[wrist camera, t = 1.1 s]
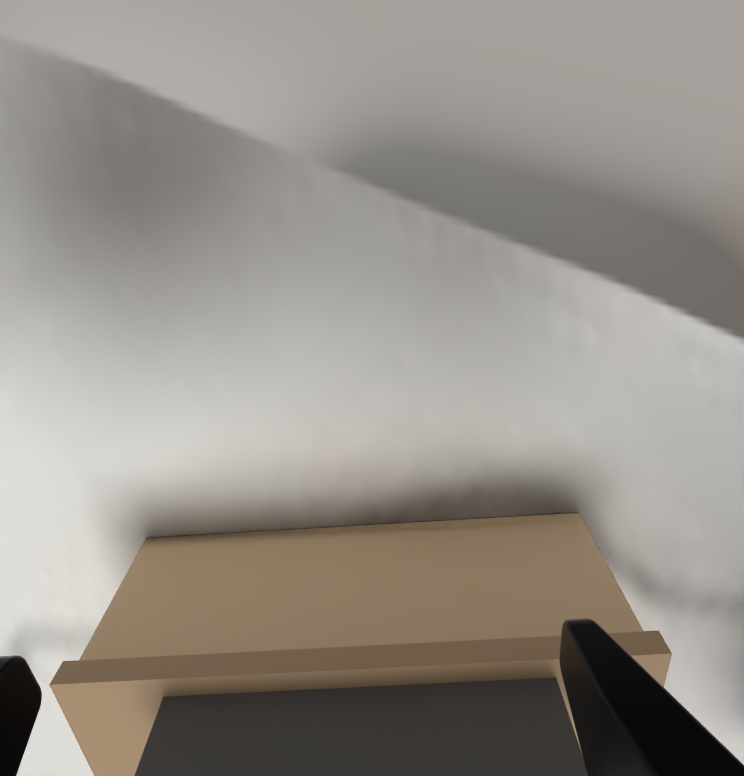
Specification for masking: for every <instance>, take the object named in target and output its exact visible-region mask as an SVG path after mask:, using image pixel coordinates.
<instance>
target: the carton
mask: <svg viewBox="0 0 744 776" xmlns="http://www.w3.org/2000/svg"><path fill="white" fill-rule="evenodd" d="M583 618H588V619H592V620H594V621H595V622H596V623H598V624H599V625H600V626H601V627H602V628H603V629H604V630H605V631H606V632H607V633H625V632H644V631H643V629H642V627H641V626H640V624H639V622H638V620H637V618H636V616H635V615H634V613H633V611H632V609H631V607H630V605H629V603H628V602H627V600H626V598H625V596H624V594H623V592H622V591H621V589H620V587H619V585H618V583H617V581H616V580H615V578H614V576H613V574H612V572H611V570H610V568H609V567H608V565H607V563H606V561H605V559H604V557H603V556H602V554H601V552H600V550H599V548H598V546H597V544H596V543H595V541H594V539H593V537H592V535H591V533H590V532H589V530H588V528H587V526H586V524H585V522H584V521H583V519H582V517H581V515H580V513H568V514H551V515H534V516H516V517H499V518H482V519H465V520H447V521H430V522H413V523H395V524H378V525H361V526H344V527H326V528H309V529H292V530H274V531H257V532H240V533H223V534H205V535H188V536H171V537H153V538H146V539H145V541H144V543H143V545H142V547H141V548H140V550H139V552H138V554H137V556H136V558H135V559H134V561H133V563H132V565H131V567H130V568H129V570H128V572H127V574H126V576H125V578H124V579H123V581H122V583H121V585H120V587H119V589H118V590H117V592H116V594H115V596H114V598H113V599H112V601H111V603H110V605H109V607H108V609H107V610H106V612H105V614H104V616H103V618H102V620H101V621H100V623H99V625H98V627H97V629H96V630H95V632H94V634H93V636H92V638H91V640H90V641H89V643H88V645H87V647H86V649H85V651H84V652H83V654H82V656H81V658H80V660H99V659H119V658H138V657H157V656H177V655H196V654H216V653H235V652H255V651H274V650H294V649H313V648H333V647H352V646H372V645H391V644H410V643H430V642H449V641H469V640H488V639H508V638H527V637H547V636H561V634H562V625H563V623H564V621H565V620H568V619H583ZM80 660H79V661H80Z"/></svg>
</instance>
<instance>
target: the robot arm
mask: <svg viewBox="0 0 744 776" xmlns="http://www.w3.org/2000/svg"><path fill="white" fill-rule="evenodd" d="M559 660H560V669H561V674H562V678H563V682H564V686H565V690H566V693H567V697H568V701H569V705H570V709H571V713H572V717H573V720H574V724H575V728H576V732H577V736H578V740H579V744H580V748H581V751H582V755H583V759H584V763H585V767H586V770H587V774H588V776H744V765H743V764H742V763H741V762H740V761H739V760H738V759H737V758H736V757H735V756H734V755H733V754H732V753H731V752H730V751H729V750H728V749H727V748H726V747H725V746H723V745H722V744H721V743H720V742H719V741H718V740H717V739H716V738H715V737H714V736H713V735H712V734H711V733H710V732H709V731H708V730H707V729H706V728H705V727H704V726H703V725H702V724H701V723H700V722H699V721H698V720H697V719H696V718H695V717H694V716H693V715H691V714H690V713H689V712H688V711H687V710H686V709H685V708H684V707H683V706H682V705H681V704H680V703H679V702H678V701H677V700H676V699H675V698H674V697H673V696H672V695H671V694H670V693H669V692H668V691H667V690H666V689H665V688H664V687H663V686H662V685H661V684H659V683H658V682H657V681H656V680H655V679H654V678H653V677H652V676H651V675H650V674H649V673H648V672H647V671H646V670H645V669H644V668H643V667H642V666H641V665H640V664H639V663H638V662H637V661H636V660H635V659H634V658H633V657H632V656H631V655H630V654H629V653H627V652H626V651H625V650H624V649H623V648H622V647H621V646H620V645H619V644H618V643H617V642H616V641H615V640H614V639H613V638H612V637H611V636H610V635H609V634H608V633H607V632H606V631H605V630H604V629H603V628H602V627H601V626H600V625H599V624H598V623H596V622H595V621H594V620H592V619H588V618H583V619H568V620H565V621H564V623H563V625H562V634H561V645H560V656H559ZM41 698H42V693H41V689H40V686H39V684H38V682H37V681H36V679H35V677H34V675H33V673H32V671H31V669H30V667H29V666H28V664H27V662H26V660H25V659H24V658H23V657H21V656H1V657H0V776H16V774H17V771H18V768H19V766H20V763H21V760H22V757H23V754H24V751H25V748H26V746H27V743H28V740H29V737H30V734H31V731H32V729H33V726H34V723H35V720H36V717H37V714H38V711H39V709H40V705H41Z"/></svg>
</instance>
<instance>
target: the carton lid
mask: <svg viewBox="0 0 744 776" xmlns="http://www.w3.org/2000/svg"><path fill="white" fill-rule="evenodd" d="M608 634H609V635H610V636H611V637H612V638H613V639H614V640H615V641H616V642H617V643H618V644H619V645H620V646H621V647H622V648H623V649H624V650H625V651H626V652H627V653H629V654H630V655H631V656H632V657H633V658H634V659H635V660H636V661H637V662H638V663H639V664H640V665H641V666H642V667H643V668H644V669H645V670H646V671H647V672H648V673H649V674H650V675H651V676H652V677H653V678H654V679H655V680H656V681H657V682H658V683H659V684H661V685H662V686H663V687H664V683H665V679H666V675H667V671H668V667H669V663H670V659H671V654H672V653H671V651H670V650H669V648H668V646H667V644H666V643H665V641H664V639H663V637H662V636H661V634H660V632H659V631H644V632H625V633H608ZM560 645H561V636H547V637H527V638H508V639H488V640H469V641H449V642H430V643H410V644H391V645H372V646H352V647H333V648H313V649H294V650H274V651H255V652H235V653H216V654H196V655H177V656H157V657H138V658H119V659H99V660H80V661H63V662H62V664H61V666H60V668H59V669H58V671H57V673H56V674H55V676H54V678H53V680H52V681H51V683H50V687H51V689H52V691H53V693H54V695H55V697H56V699H57V701H58V703H59V705H60V707H61V709H62V711H63V713H64V715H65V717H66V719H67V721H68V723H69V725H70V727H71V729H72V731H73V733H74V735H75V737H76V739H77V741H78V743H79V745H80V748H81V750H82V752H83V754H84V756H85V758H86V760H87V762H88V764H89V766H90V768H91V770H92V772H93V774H94V776H588V774H587V770H586V767H585V763H584V759H583V755H582V751H581V748H580V744H579V740H578V736H577V732H576V728H575V724H574V720H573V717H572V713H571V709H570V705H569V701H568V697H567V693H566V690H565V686H564V682H563V678H562V674H561V669H560V660H559V656H560Z"/></svg>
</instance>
